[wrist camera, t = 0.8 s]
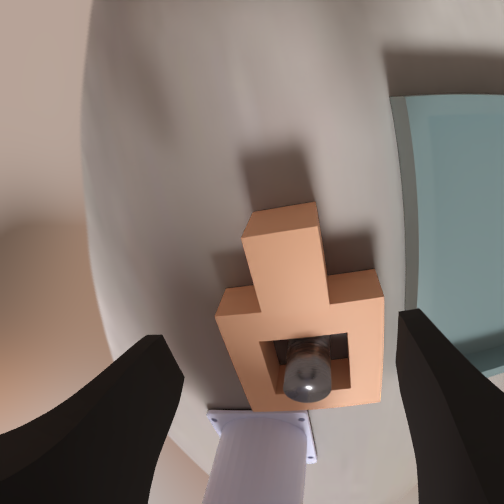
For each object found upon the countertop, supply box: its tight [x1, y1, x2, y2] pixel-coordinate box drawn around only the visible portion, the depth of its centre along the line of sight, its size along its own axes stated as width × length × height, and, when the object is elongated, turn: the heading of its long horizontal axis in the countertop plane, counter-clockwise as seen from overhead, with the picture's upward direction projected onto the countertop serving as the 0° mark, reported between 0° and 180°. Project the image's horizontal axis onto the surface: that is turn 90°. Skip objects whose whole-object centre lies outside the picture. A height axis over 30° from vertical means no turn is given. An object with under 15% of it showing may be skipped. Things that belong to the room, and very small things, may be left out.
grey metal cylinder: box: [283, 335, 331, 403], centre depth 16 cm, size 2×2×4 cm
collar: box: [214, 202, 384, 412], centre depth 16 cm, size 12×8×3 cm, turn 14°
